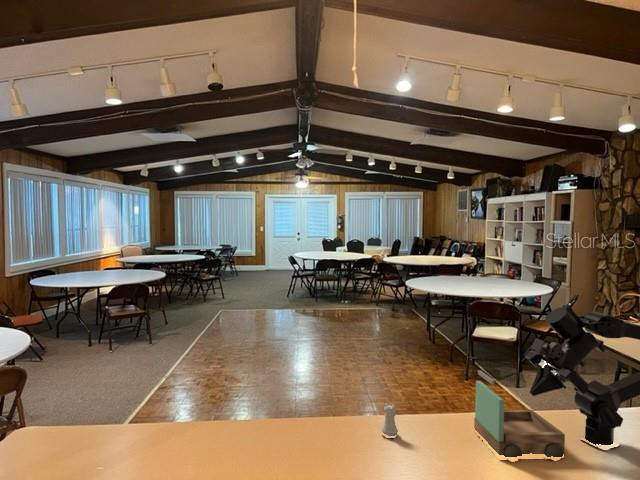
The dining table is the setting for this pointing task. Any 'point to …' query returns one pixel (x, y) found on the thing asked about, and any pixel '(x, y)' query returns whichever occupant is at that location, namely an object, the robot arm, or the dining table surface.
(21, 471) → the dining table surface
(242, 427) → the dining table surface
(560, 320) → the robot arm
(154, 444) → the dining table surface
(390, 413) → the rook chess piece
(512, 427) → the cart
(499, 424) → the panel
